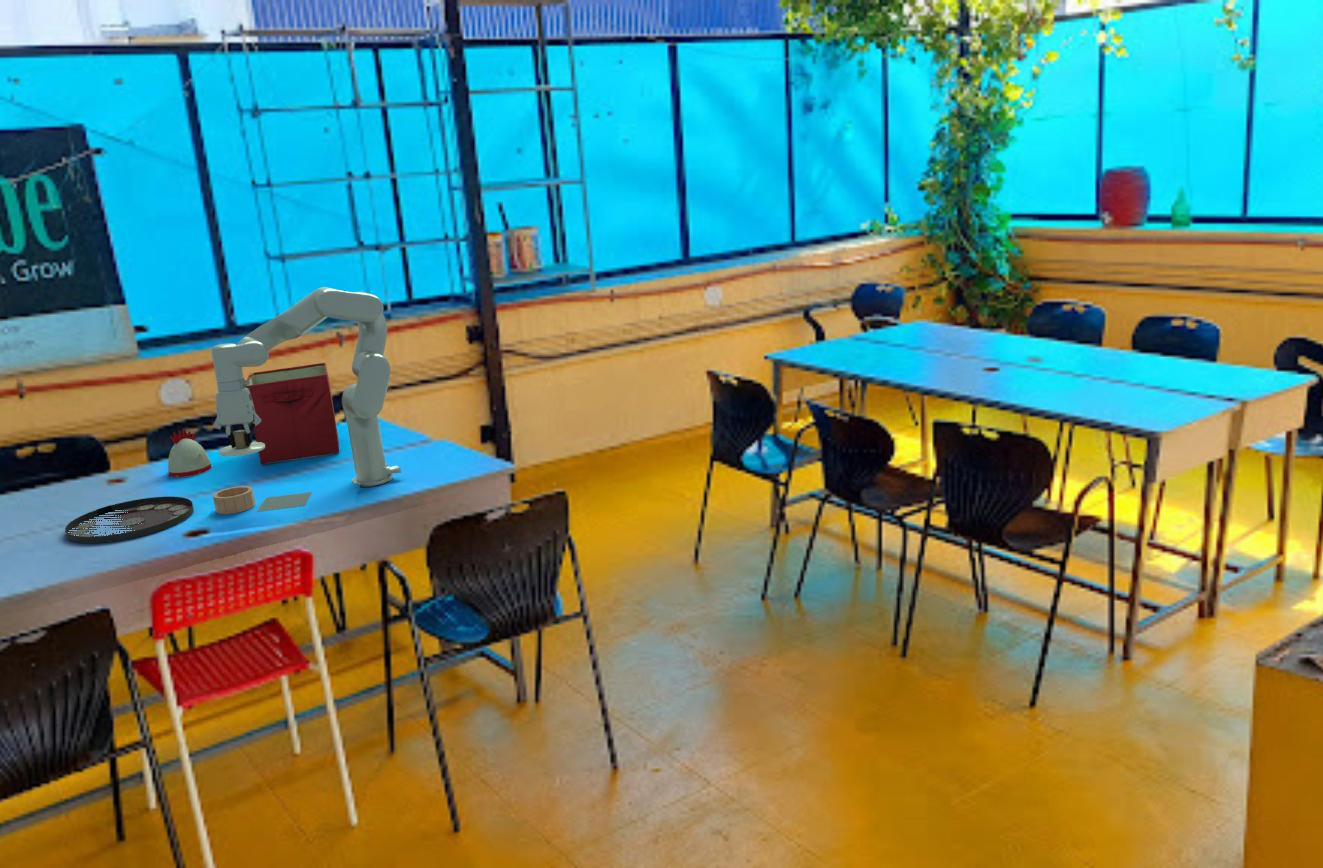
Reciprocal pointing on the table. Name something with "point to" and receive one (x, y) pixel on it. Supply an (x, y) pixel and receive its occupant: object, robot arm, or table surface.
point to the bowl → (234, 500)
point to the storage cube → (294, 413)
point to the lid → (241, 446)
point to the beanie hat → (187, 457)
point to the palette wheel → (133, 518)
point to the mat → (284, 501)
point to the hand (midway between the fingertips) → (241, 445)
